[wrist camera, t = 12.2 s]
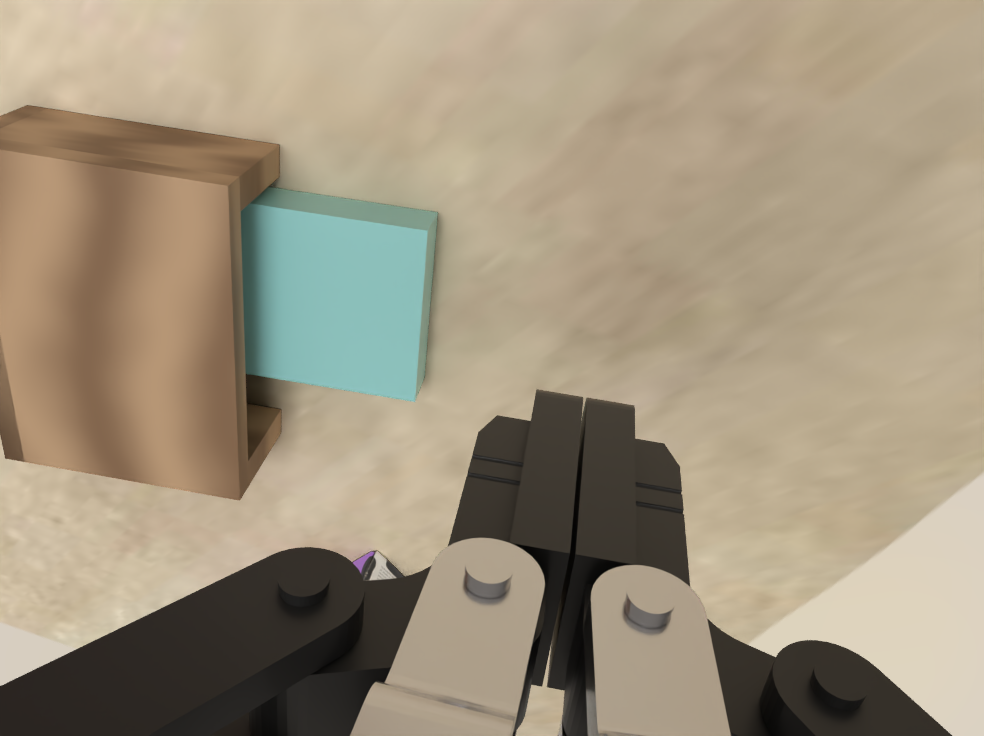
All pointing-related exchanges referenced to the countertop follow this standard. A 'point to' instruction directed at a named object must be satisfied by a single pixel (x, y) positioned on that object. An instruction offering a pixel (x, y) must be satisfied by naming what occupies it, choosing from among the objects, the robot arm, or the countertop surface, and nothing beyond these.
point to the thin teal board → (337, 291)
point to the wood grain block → (128, 300)
